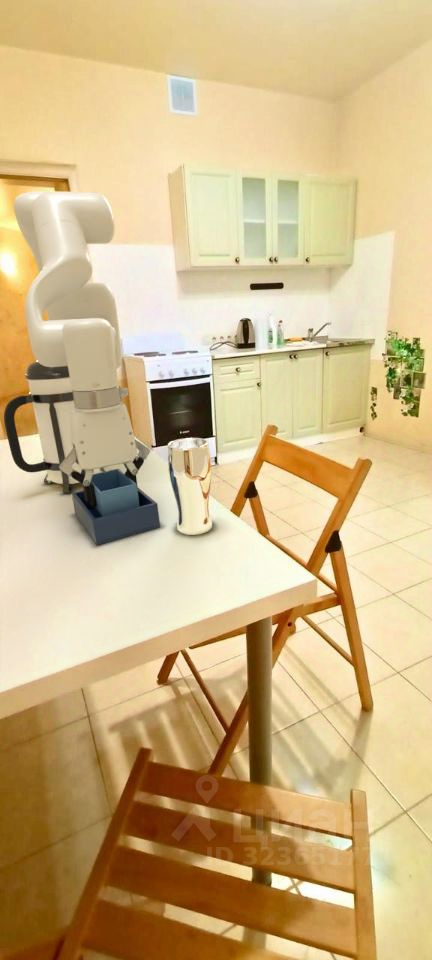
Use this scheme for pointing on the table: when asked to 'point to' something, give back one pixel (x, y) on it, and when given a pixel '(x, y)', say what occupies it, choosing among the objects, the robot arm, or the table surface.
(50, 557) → the table surface
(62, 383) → the coffee press
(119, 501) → the small bin
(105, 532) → the big bin
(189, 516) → the beer glass
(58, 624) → the table surface
